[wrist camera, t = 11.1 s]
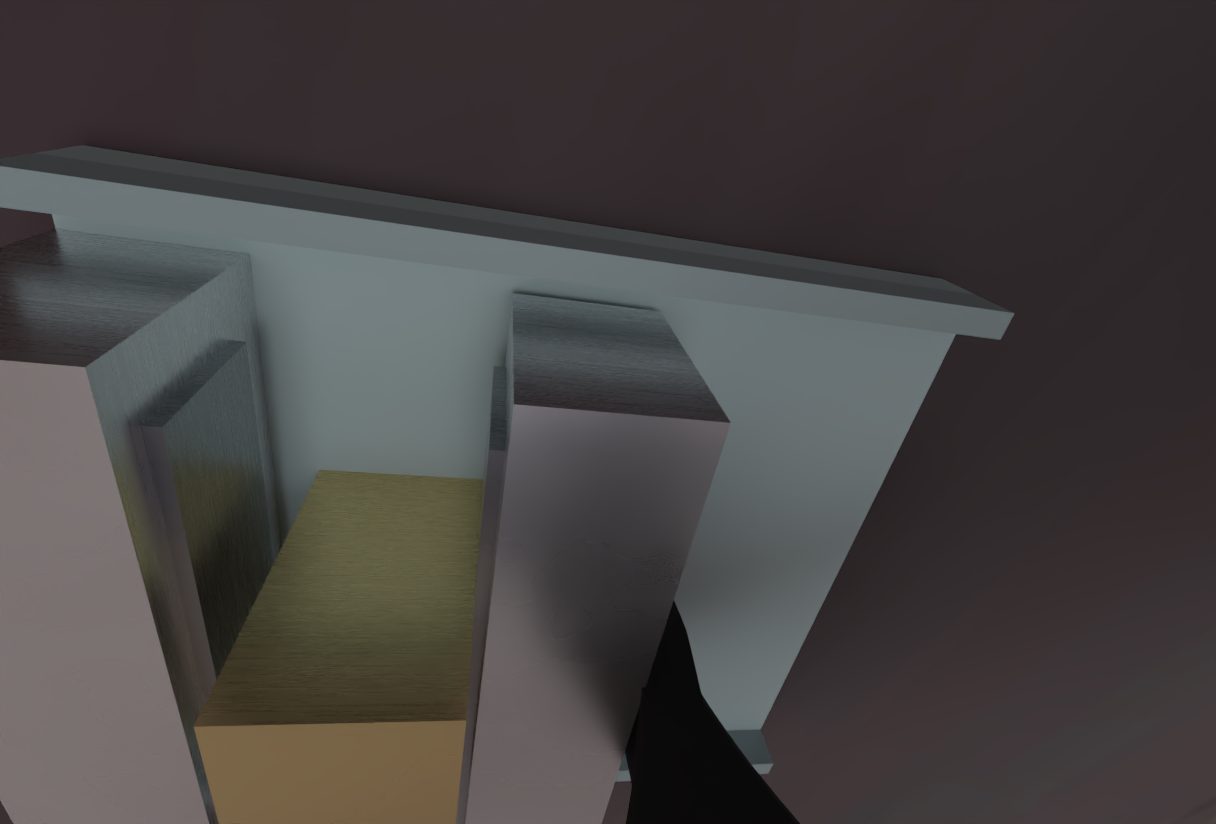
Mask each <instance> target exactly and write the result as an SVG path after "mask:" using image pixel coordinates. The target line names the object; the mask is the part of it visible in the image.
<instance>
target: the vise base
mask: <svg viewBox="0 0 1216 824" xmlns="http://www.w3.org/2000/svg"><path fill="white" fill-rule="evenodd" d="M0 207H3V208H11V209H18V210H26V211H33V212H41V213H48V214H52V216H53V220H54V224H55V228H56V229H64V230H72V231H79V232H87V233H95V234H103V235H111V236H118V237H126V238H134V239H142V240H150V241H157V242H165V243H173V244H181V245H189V246H196V247H204V248H212V249H220V250H228V251H235V252H243V253H250V259H251V268H252V277H253V286H254V295H255V304H256V313H257V321H258V330H259V339H260V348H261V357H262V366H263V375H264V383H265V392H266V401H267V410H268V419H269V428H270V437H271V445H272V454H273V463H274V472H275V481H276V490H277V499H278V507H279V516H280V525H281V534H282V543H283V544H284V541H285V539H286V537H287V535H288V533H289V531H290V529H291V527H292V525H293V523H294V521H295V519H296V517H297V515H298V513H299V511H300V509H301V507H302V505H303V503H304V501H305V499H306V497H307V495H308V492H309V490H310V488H311V486H312V484H313V482H314V480H315V478H316V476H317V474H318V472H319V470H330V471H347V472H364V473H381V474H398V475H416V476H433V477H450V478H467V479H483V474H484V463H485V453H486V442H487V432H488V421H489V410H490V400H491V389H492V378H493V368H494V366H497V367H505V361H506V351H507V341H508V332H509V322H510V313H511V303H512V294H513V293H517V294H525V295H533V296H541V297H549V298H557V299H565V300H573V301H581V302H589V303H597V304H605V305H612V306H620V307H628V308H636V309H644V310H652V311H660V312H661V313H662V315H663V316H664V318H665V319H666V321H667V322H668V324H669V326H670V327H671V329H672V330H673V332H674V334H675V335H676V337H677V338H678V340H679V341H680V343H681V345H682V346H683V348H684V349H685V351H686V353H687V354H688V356H689V357H690V359H691V360H692V362H693V364H694V365H695V367H696V368H697V370H698V371H699V373H700V375H701V376H702V378H703V379H704V381H705V383H706V384H707V386H708V387H709V389H710V390H711V392H712V394H713V395H714V397H715V398H716V400H717V402H718V403H719V405H720V406H721V408H722V409H723V411H724V413H725V414H726V416H727V417H728V419H729V421H730V422H731V425H730V428H729V431H728V434H727V437H726V440H725V443H724V446H723V449H722V452H721V456H720V459H719V462H718V465H717V468H716V471H715V474H714V477H713V480H712V483H711V486H710V490H709V493H708V496H707V499H706V502H705V505H704V508H703V511H702V514H701V517H700V520H699V524H698V527H697V530H696V533H695V536H694V539H693V542H692V545H691V548H690V551H689V555H688V558H687V561H686V564H685V567H684V570H683V573H682V576H681V579H680V582H679V585H678V589H677V592H676V595H675V598H674V602H675V604H676V606H677V608H678V611H679V613H680V615H681V618H682V620H683V623H684V625H685V628H686V630H687V634H688V638H689V643H690V647H691V651H692V655H693V659H694V664H695V668H696V672H697V677H698V681H699V685H700V690H701V694H702V695H703V697H704V698H705V700H706V701H707V703H708V705H709V706H710V708H711V709H712V710H713V712H714V713H715V715H716V716H717V718H718V719H719V721H720V722H721V724H722V725H723V726H724V728H725V729H726V731H727V732H728V733H729V735H730V736H731V738H732V739H733V740H734V742H735V743H736V745H737V746H738V747H739V749H740V750H741V751H742V753H743V754H744V755H745V757H746V758H747V759H748V761H749V762H750V763H751V765H752V766H753V767H754V768H755V770H756V771H757V772H758V774H768V773H769V771H770V769H771V767H772V765H773V761H772V758H771V756H770V753H769V751H768V748H767V745H766V743H765V740H764V737H763V735H762V732H761V730H760V729H761V727H762V725H763V723H764V721H765V719H766V717H767V715H768V713H769V711H770V709H771V707H772V705H773V703H774V701H775V699H776V697H777V695H778V693H779V691H780V689H781V687H782V685H783V683H784V681H785V679H786V677H787V675H788V673H789V671H790V669H791V667H792V665H793V663H794V661H795V659H796V657H797V655H798V653H799V651H800V649H801V646H802V644H803V642H804V640H805V638H806V636H807V634H808V632H809V630H810V628H811V626H812V624H813V622H814V620H815V618H816V616H817V614H818V612H819V610H820V608H821V606H822V604H823V602H824V600H825V598H826V596H827V594H828V592H829V590H830V588H831V586H832V584H833V582H834V580H835V578H836V576H837V574H838V572H839V570H840V568H841V566H842V564H843V561H844V559H845V557H846V555H847V553H848V551H849V549H850V547H851V545H852V543H853V541H854V539H855V537H856V535H857V533H858V531H859V529H860V527H861V525H862V523H863V521H864V519H865V517H866V515H867V513H868V511H869V509H870V507H871V505H872V503H873V501H874V499H875V497H876V495H877V493H878V491H879V489H880V487H881V485H882V483H883V481H884V479H885V477H886V474H887V472H888V470H889V468H890V466H891V464H892V462H893V460H894V458H895V456H896V454H897V452H898V450H899V448H900V446H901V444H902V442H903V440H904V438H905V436H906V434H907V432H908V430H909V428H910V426H911V424H912V422H913V420H914V418H915V416H916V414H917V412H918V410H919V408H920V406H921V404H922V402H923V400H924V398H925V396H926V394H927V392H928V390H929V387H930V385H931V383H932V381H933V379H934V377H935V375H936V373H937V371H938V369H939V367H940V365H941V363H942V361H943V359H944V357H945V355H946V353H947V351H948V349H949V347H950V345H951V343H952V341H953V339H954V337H955V335H956V334H961V335H968V336H976V337H983V338H991V339H998V340H1001V338H1002V336H1003V334H1004V332H1005V330H1006V328H1007V327H1008V325H1009V323H1010V321H1011V319H1012V317H1013V315H1014V314H1015V313H1013V312H1011V311H1009V310H1007V309H1005V308H1003V307H1000V306H998V305H996V304H994V303H992V302H990V301H988V300H986V299H984V298H981V297H979V296H977V295H975V294H973V293H971V292H969V291H967V290H965V289H963V288H960V287H958V286H956V285H954V284H952V283H950V282H948V281H946V280H944V279H941V278H934V277H928V276H921V275H915V274H909V273H902V272H896V271H889V270H883V269H876V268H870V267H864V266H857V265H851V264H844V263H838V262H831V261H825V260H818V259H812V258H806V257H799V256H793V255H786V254H780V253H773V252H767V251H761V250H754V249H748V248H741V247H735V246H728V245H722V244H716V243H709V242H703V241H696V240H690V239H683V238H677V237H670V236H664V235H658V234H651V233H645V232H638V231H632V230H625V229H619V228H613V227H606V226H600V225H593V224H587V223H580V222H574V221H567V220H561V219H555V218H548V217H542V216H535V215H529V214H522V213H516V212H510V211H503V210H497V209H490V208H484V207H477V206H471V205H464V204H458V203H452V202H445V201H439V200H432V199H426V198H419V197H413V196H407V195H400V194H394V193H387V192H381V191H374V190H368V189H362V188H355V187H349V186H342V185H336V184H329V183H323V182H316V181H310V180H304V179H297V178H291V177H284V176H278V175H271V174H265V173H259V172H252V171H246V170H239V169H233V168H226V167H220V166H213V165H207V164H201V163H194V162H188V161H181V160H175V159H168V158H162V157H156V156H149V155H143V154H136V153H130V152H123V151H117V150H111V149H104V148H98V147H91V146H85V145H80V146H74V147H68V148H62V149H56V150H51V151H45V152H39V153H33V154H27V155H21V156H15V157H9V158H3V159H0ZM616 781H631V778H630V774H629V769H628V764H627V760H626V755H625V752H624V755H623V759H622V762H621V765H620V768H619V771H618V774H617V777H616V780H615V782H616Z"/></svg>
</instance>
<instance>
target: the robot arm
mask: <svg viewBox="0 0 1216 824" xmlns="http://www.w3.org/2000/svg"><path fill="white" fill-rule="evenodd" d="M625 755H626V760H627V764H628V769H629V774H630V778H631V783H632V790H631V796H630V802H629V809H628V814H627V820H626V824H800V823H799V822H798V821H797V819H796V818H795V817H794V816H793V815H792V814H791V812H790V811H789V810H788V809H787V808H786V807H785V805H784V804H783V803H782V802H781V801H780V800H779V798H778V797H777V796H776V795H775V793H774V792H773V791H772V790H771V788H770V787H769V786H768V785H767V784H766V782H765V781H764V780H763V779H762V777H761V776H760V775H759V774H758V772H757V771H756V770H755V768H754V767H753V766H752V765H751V763H750V762H749V761H748V759H747V758H746V757H745V755H744V754H743V753H742V751H741V750H740V749H739V747H738V746H737V745H736V743H735V742H734V740H733V739H732V738H731V736H730V735H729V733H728V732H727V731H726V729H725V728H724V726H723V725H722V724H721V722H720V721H719V719H718V718H717V716H716V715H715V713H714V712H713V710H712V709H711V708H710V706H709V705H708V703H707V701H706V700H705V698H704V697H703V695H702V694H701V690H700V685H699V681H698V677H697V672H696V668H695V664H694V659H693V655H692V651H691V647H690V643H689V638H688V634H687V630H686V628H685V625H684V623H683V620H682V618H681V615H680V613H679V611H678V608H677V606H676V604H675V602H674V601H673V604H672V607H671V610H670V613H669V616H668V619H667V623H666V626H665V629H664V632H663V635H662V638H661V641H660V644H659V647H658V650H657V653H656V657H655V660H654V663H653V666H652V669H651V672H650V675H649V678H648V681H647V684H646V687H642V689H641V701H640V706H639V709H638V712H637V715H636V718H635V721H634V725H633V728H632V731H631V734H630V737H629V740H628V743H627V746H626V749H625Z"/></svg>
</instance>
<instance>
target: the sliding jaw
mask: <svg viewBox="0 0 1216 824" xmlns="http://www.w3.org/2000/svg"><path fill="white" fill-rule="evenodd" d="M730 425H731V422H730V421H729V419H728V417H727V416H726V414H725V413H724V411H723V409H722V408H721V406H720V405H719V403H718V402H717V400H716V398H715V397H714V395H713V394H712V392H711V390H710V389H709V387H708V386H707V384H706V383H705V381H704V379H703V378H702V376H701V375H700V373H699V371H698V370H697V368H696V367H695V365H694V364H693V362H692V360H691V359H690V357H689V356H688V354H687V353H686V351H685V349H684V348H683V346H682V345H681V343H680V341H679V340H678V338H677V337H676V335H675V334H674V332H673V330H672V329H671V327H670V326H669V324H668V322H667V321H666V319H665V318H664V316H663V315H662V313H661V312H660V311H652V310H644V309H636V308H628V307H620V306H612V305H605V304H597V303H589V302H581V301H573V300H565V299H557V298H549V297H541V296H533V295H525V294H517V293H513V294H512V303H511V313H510V322H509V332H508V341H507V351H506V361H505V367H497V366H494V368H493V378H492V389H491V400H490V410H489V421H488V432H487V442H486V453H485V463H484V474H483V485H482V495H481V506H480V518H479V533H478V547H477V562H476V576H475V591H474V606H473V617H474V622H473V636H472V650H471V663H470V677H469V691H468V704H467V718H466V729H465V738H464V748H463V758H462V768H461V777H460V787H459V797H458V807H457V817H456V824H602V820H603V817H604V814H605V811H606V808H607V805H608V802H609V799H610V796H611V793H612V790H613V786H614V783H615V780H616V777H617V774H618V771H619V768H620V765H621V762H622V759H623V755H624V752H625V749H626V746H627V743H628V740H629V737H630V734H631V731H632V728H633V725H634V721H635V718H636V715H637V712H638V709H639V706H640V701H641V689H642V687H646V684H647V681H648V678H649V675H650V672H651V669H652V666H653V663H654V660H655V657H656V653H657V650H658V647H659V644H660V641H661V638H662V635H663V632H664V629H665V626H666V623H667V619H668V616H669V613H670V610H671V607H672V604H673V601H674V598H675V595H676V592H677V589H678V585H679V582H680V579H681V576H682V573H683V570H684V567H685V564H686V561H687V558H688V555H689V551H690V548H691V545H692V542H693V539H694V536H695V533H696V530H697V527H698V524H699V520H700V517H701V514H702V511H703V508H704V505H705V502H706V499H707V496H708V493H709V490H710V486H711V483H712V480H713V477H714V474H715V471H716V468H717V465H718V462H719V459H720V456H721V452H722V449H723V446H724V443H725V440H726V437H727V434H728V431H729V428H730Z"/></svg>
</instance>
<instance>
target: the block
mask: <svg viewBox="0 0 1216 824" xmlns="http://www.w3.org/2000/svg"><path fill="white" fill-rule="evenodd" d="M482 485H483V479H467V478H450V477H433V476H416V475H398V474H381V473H364V472H347V471H330V470H319V472H318V474H317V476H316V478H315V480H314V482H313V484H312V486H311V488H310V490H309V492H308V495H307V497H306V499H305V501H304V503H303V505H302V507H301V509H300V511H299V513H298V515H297V517H296V519H295V521H294V523H293V525H292V527H291V529H290V531H289V533H288V535H287V537H286V539H285V541H284V544H283V546H282V548H281V550H280V552H279V554H278V556H277V558H276V560H275V562H274V564H273V566H272V568H271V570H270V572H269V574H268V576H267V578H266V580H265V582H264V584H263V586H262V588H261V590H260V592H259V595H258V597H257V599H256V601H255V603H254V605H253V607H252V609H251V611H250V613H249V615H248V617H247V619H246V621H245V623H244V625H243V627H242V629H241V631H240V633H239V635H238V637H237V639H236V641H235V643H234V646H233V648H232V650H231V652H230V654H229V656H228V658H227V660H226V662H225V664H224V666H223V668H222V670H221V672H220V674H219V676H218V678H217V680H216V682H215V684H214V686H213V688H212V690H211V692H210V694H209V697H208V699H207V701H206V703H205V705H204V707H203V709H202V711H201V713H200V715H199V717H198V719H197V721H196V723H195V725H194V730H195V734H196V738H197V741H198V745H199V749H200V753H201V757H202V761H203V765H204V769H205V772H206V776H207V780H208V784H209V788H210V792H211V796H212V800H213V804H214V807H215V811H216V815H217V819H218V823H219V824H456V817H457V807H458V797H459V787H460V777H461V768H462V758H463V748H464V738H465V729H466V718H467V704H468V691H469V677H470V663H471V650H472V636H473V622H474V617H473V606H474V591H475V576H476V562H477V547H478V533H479V518H480V506H481V495H482Z"/></svg>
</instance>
